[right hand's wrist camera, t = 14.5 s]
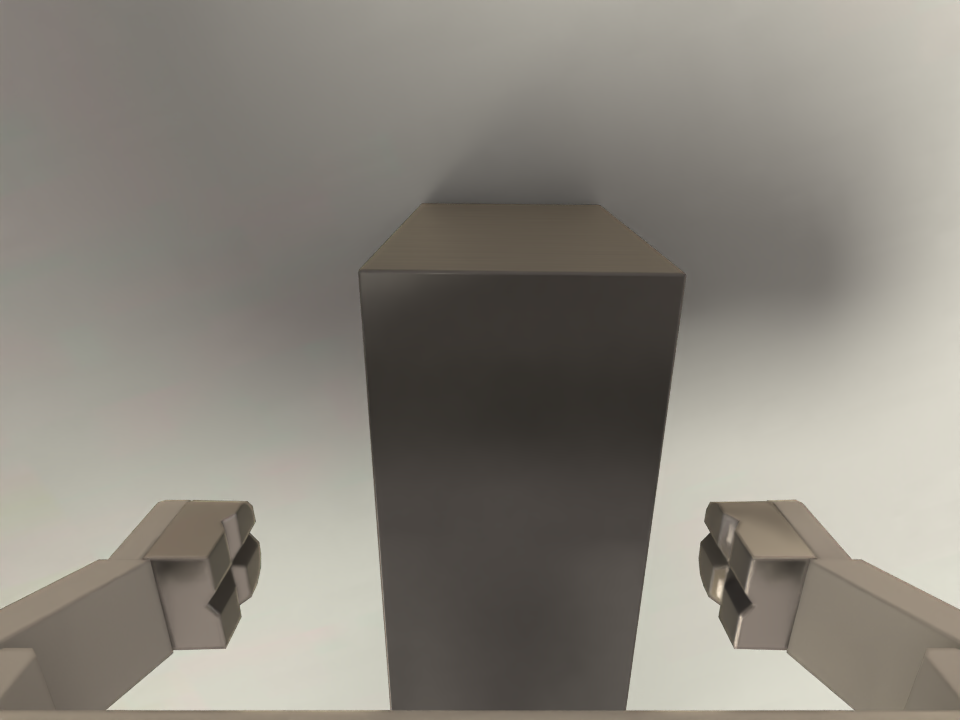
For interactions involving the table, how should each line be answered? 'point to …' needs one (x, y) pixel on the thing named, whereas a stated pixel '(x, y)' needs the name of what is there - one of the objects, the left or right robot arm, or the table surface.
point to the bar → (515, 450)
